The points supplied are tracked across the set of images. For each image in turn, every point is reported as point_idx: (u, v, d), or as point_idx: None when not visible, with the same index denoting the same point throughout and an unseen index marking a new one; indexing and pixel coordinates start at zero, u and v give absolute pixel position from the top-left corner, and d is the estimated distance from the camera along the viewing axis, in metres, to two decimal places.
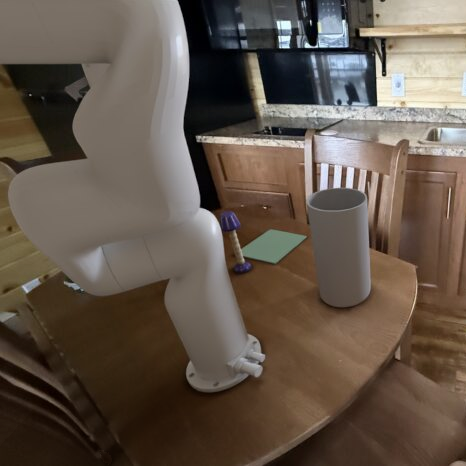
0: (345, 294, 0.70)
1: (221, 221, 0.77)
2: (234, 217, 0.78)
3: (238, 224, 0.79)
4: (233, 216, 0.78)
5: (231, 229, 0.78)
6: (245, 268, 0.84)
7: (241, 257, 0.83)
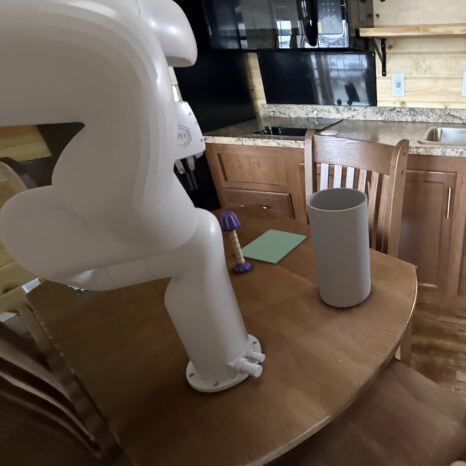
0: (345, 294, 0.70)
1: (221, 221, 0.77)
2: (234, 217, 0.78)
3: (238, 224, 0.79)
4: (233, 216, 0.78)
5: (231, 229, 0.78)
6: (245, 268, 0.84)
7: (241, 257, 0.83)
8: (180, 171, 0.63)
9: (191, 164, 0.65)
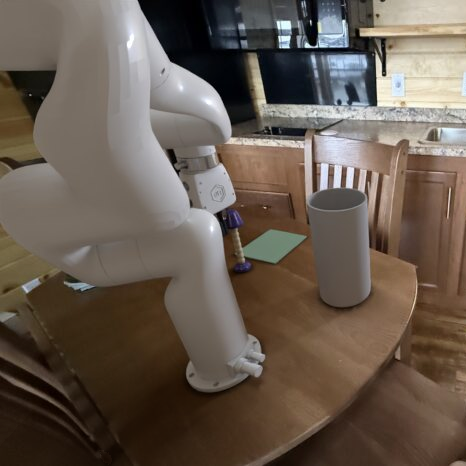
0: (345, 294, 0.70)
1: None
2: (237, 215, 0.79)
3: (240, 222, 0.80)
4: (236, 214, 0.79)
5: (233, 226, 0.78)
6: (245, 267, 0.84)
7: (242, 256, 0.83)
8: None
9: (224, 214, 0.75)
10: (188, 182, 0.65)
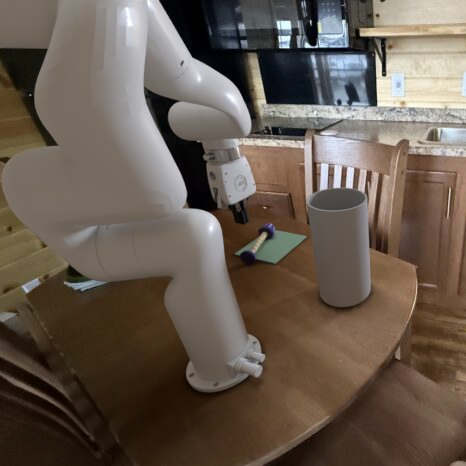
0: (345, 294, 0.70)
1: None
2: (274, 229, 1.00)
3: (273, 233, 0.98)
4: (274, 228, 1.00)
5: (270, 228, 0.97)
6: (254, 254, 0.87)
7: (256, 249, 0.90)
8: (238, 210, 0.79)
9: (245, 203, 0.81)
10: (215, 172, 0.71)
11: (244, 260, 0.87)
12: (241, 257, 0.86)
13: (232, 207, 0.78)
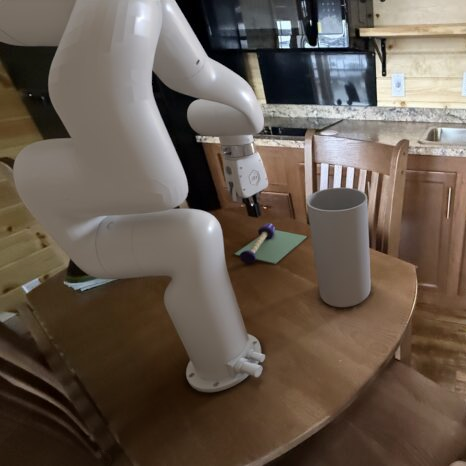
0: (345, 294, 0.70)
1: None
2: (274, 229, 1.00)
3: (273, 233, 0.98)
4: (274, 228, 1.00)
5: (270, 228, 0.97)
6: (254, 254, 0.87)
7: (256, 249, 0.90)
8: (251, 203, 0.83)
9: (258, 197, 0.85)
10: (231, 167, 0.75)
11: (244, 260, 0.87)
12: (241, 257, 0.86)
13: (246, 200, 0.82)
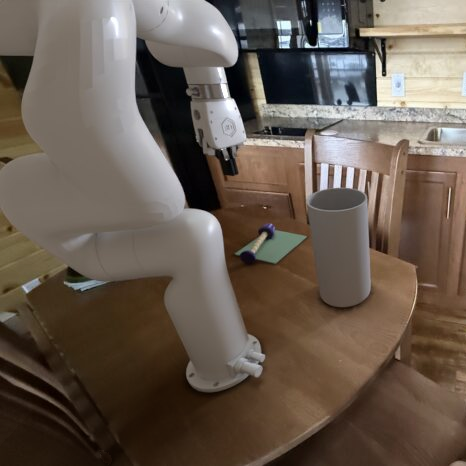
0: (345, 294, 0.70)
1: None
2: (274, 229, 1.00)
3: (273, 233, 0.98)
4: (274, 228, 1.00)
5: (270, 228, 0.97)
6: (254, 254, 0.87)
7: (256, 249, 0.90)
8: (226, 158, 0.73)
9: (234, 152, 0.75)
10: (199, 110, 0.65)
11: (244, 260, 0.87)
12: (241, 257, 0.86)
13: (219, 154, 0.72)
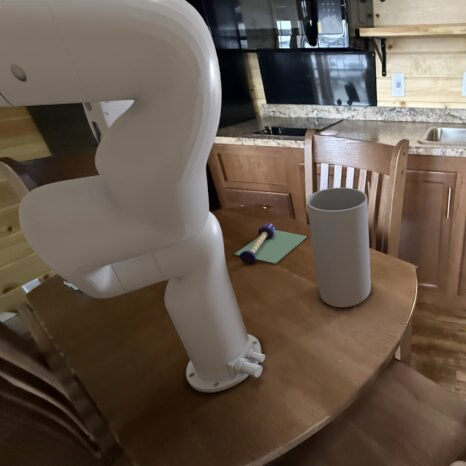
0: (345, 294, 0.70)
1: None
2: (274, 229, 1.00)
3: (273, 233, 0.98)
4: (274, 228, 1.00)
5: (270, 228, 0.97)
6: (254, 254, 0.87)
7: (256, 249, 0.90)
8: None
9: None
10: None
11: (244, 260, 0.87)
12: (241, 257, 0.86)
13: None
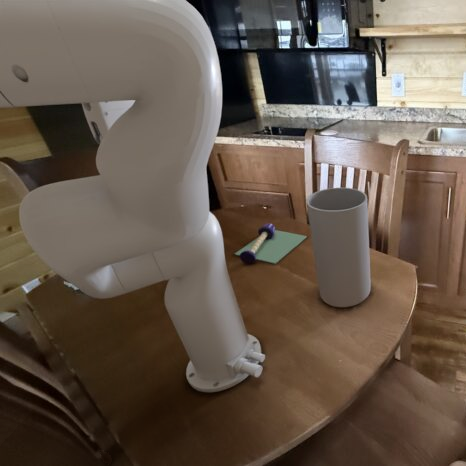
0: (345, 294, 0.70)
1: None
2: (274, 229, 1.00)
3: (273, 233, 0.98)
4: (274, 228, 1.00)
5: (270, 228, 0.97)
6: (254, 254, 0.87)
7: (256, 249, 0.90)
8: None
9: None
10: None
11: (244, 260, 0.87)
12: (241, 257, 0.86)
13: None
